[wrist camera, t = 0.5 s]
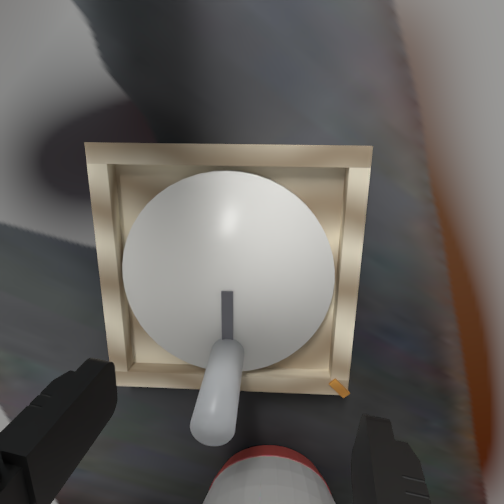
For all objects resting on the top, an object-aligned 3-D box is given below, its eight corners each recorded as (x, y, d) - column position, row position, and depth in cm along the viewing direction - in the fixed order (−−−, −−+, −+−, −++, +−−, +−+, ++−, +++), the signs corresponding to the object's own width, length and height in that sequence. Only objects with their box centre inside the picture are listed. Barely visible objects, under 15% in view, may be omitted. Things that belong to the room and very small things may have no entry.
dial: (119, 168, 29) (42, 179, 19) (340, 171, 29) (377, 184, 19) (136, 359, 35) (82, 445, 25) (324, 366, 34) (347, 458, 24)
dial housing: (101, 142, 30) (82, 142, 27) (365, 146, 30) (376, 145, 26) (124, 368, 37) (111, 388, 34) (342, 377, 36) (349, 398, 33)
